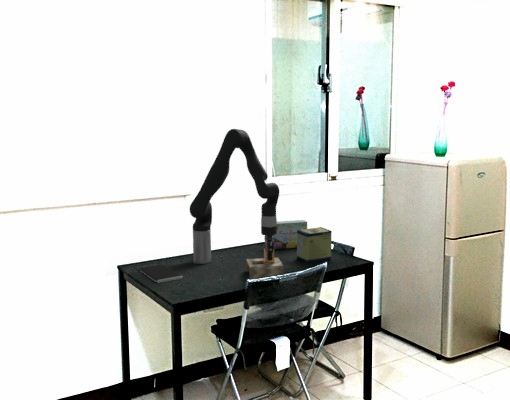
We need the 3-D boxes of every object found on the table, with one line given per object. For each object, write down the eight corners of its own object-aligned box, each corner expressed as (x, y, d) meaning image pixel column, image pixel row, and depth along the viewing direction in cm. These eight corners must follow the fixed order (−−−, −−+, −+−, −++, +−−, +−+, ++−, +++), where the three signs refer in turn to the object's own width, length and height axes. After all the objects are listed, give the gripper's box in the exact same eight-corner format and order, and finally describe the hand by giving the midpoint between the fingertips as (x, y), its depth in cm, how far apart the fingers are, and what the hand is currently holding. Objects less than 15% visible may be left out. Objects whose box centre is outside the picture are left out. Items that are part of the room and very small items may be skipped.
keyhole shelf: (250, 279, 277) (249, 267, 276) (246, 270, 291) (246, 259, 290) (283, 277, 280) (283, 265, 278) (278, 269, 293) (278, 257, 292)
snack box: (271, 249, 330) (271, 223, 328) (269, 247, 336) (268, 221, 333) (307, 246, 336) (307, 221, 333) (303, 244, 341) (304, 219, 339)
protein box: (331, 259, 310) (332, 230, 308) (306, 263, 304) (306, 233, 301) (320, 254, 320) (321, 226, 317) (296, 258, 313) (296, 229, 310)
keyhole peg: (265, 269, 283) (265, 250, 281) (264, 266, 287) (263, 248, 285) (274, 268, 283) (274, 249, 281) (273, 266, 287) (272, 247, 286)
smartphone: (162, 266, 303) (161, 263, 303) (183, 279, 280) (183, 275, 280) (137, 270, 296) (137, 267, 296) (157, 284, 273) (157, 280, 273)
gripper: (259, 221, 288) (259, 255, 291) (263, 228, 274) (263, 263, 277) (274, 221, 289) (274, 254, 292) (279, 227, 275) (279, 262, 278)
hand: (269, 258), depth 284 cm, fingers closed on keyhole peg, 4 cm apart
